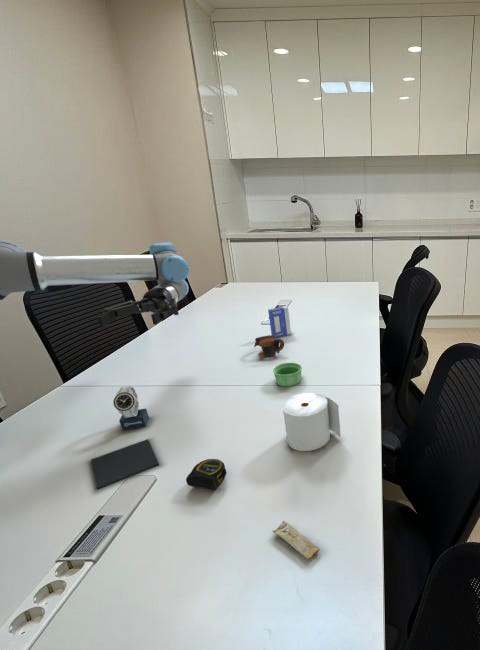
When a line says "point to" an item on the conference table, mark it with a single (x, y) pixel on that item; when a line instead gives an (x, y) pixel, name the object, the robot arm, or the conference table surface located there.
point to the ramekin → (287, 374)
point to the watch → (130, 409)
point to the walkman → (279, 321)
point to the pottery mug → (269, 346)
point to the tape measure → (207, 474)
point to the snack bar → (296, 540)
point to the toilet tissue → (310, 420)
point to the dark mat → (123, 463)
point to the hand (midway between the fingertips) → (127, 321)
